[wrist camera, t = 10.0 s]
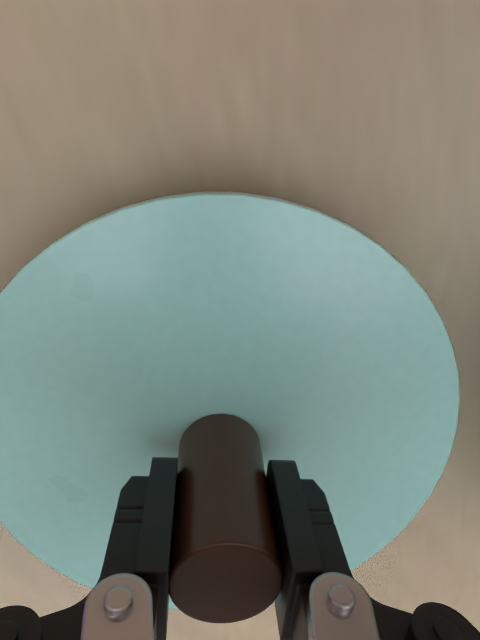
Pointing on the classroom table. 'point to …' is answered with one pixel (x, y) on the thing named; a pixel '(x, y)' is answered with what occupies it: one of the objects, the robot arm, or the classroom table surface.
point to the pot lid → (218, 388)
